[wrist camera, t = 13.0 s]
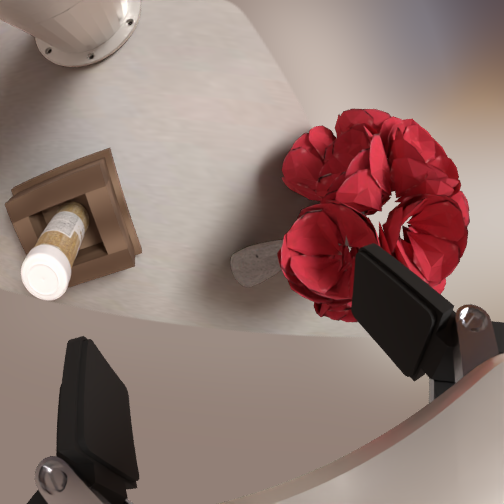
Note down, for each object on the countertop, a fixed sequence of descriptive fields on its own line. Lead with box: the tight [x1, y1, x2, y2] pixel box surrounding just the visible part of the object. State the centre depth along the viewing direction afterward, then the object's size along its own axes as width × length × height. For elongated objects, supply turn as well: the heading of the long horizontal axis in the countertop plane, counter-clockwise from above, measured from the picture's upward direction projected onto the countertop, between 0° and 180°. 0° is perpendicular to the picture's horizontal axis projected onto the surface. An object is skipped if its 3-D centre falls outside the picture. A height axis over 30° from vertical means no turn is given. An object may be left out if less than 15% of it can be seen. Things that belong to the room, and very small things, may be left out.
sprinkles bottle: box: [21, 202, 89, 300], centre depth 25 cm, size 5×5×14 cm
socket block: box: [5, 148, 142, 288], centre depth 30 cm, size 14×14×5 cm
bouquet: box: [230, 109, 470, 322], centre depth 33 cm, size 22×24×30 cm
